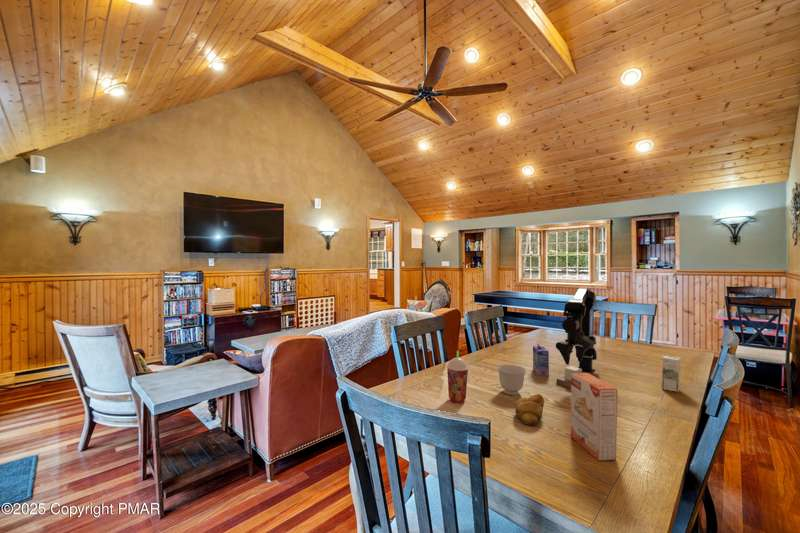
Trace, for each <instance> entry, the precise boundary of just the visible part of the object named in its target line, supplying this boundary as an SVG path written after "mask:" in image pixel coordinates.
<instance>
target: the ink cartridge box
mask: <svg viewBox="0 0 800 533" xmlns="http://www.w3.org/2000/svg"><path fill="white" fill-rule="evenodd" d="M549 357H550V354H549V350H548V349H546V348H545V347H544V346H542V345H541V346H540V345H539V343H536V345H532V369H533V371H534V373H536V375H537V376H547V377H548V376H550V366H549V365H550V359H549Z"/></svg>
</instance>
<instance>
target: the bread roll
mask: <svg viewBox="0 0 800 533" xmlns="http://www.w3.org/2000/svg"><path fill="white" fill-rule="evenodd" d="M544 405H545V399H544V397H543V396H542V395H541V394H538V393H537V394H535V393H534V394H533V395H530V396H529V397H521V398H518V399H517V401H516V402H515V404H514V407H515V408H514V410H515V416H516V417H517V418H518V419H519V420H521V422H522V423H524V424H526V425H529V426H531V425H532V426H533V425H535V424H537V422H538V421H539V420H541V419H542V418H543V410H544V407H545V406H544Z"/></svg>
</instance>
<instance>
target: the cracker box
mask: <svg viewBox="0 0 800 533" xmlns="http://www.w3.org/2000/svg"><path fill="white" fill-rule="evenodd" d="M570 391H571V392H570V395H571V398H570V402H571V403H570V437H571V438H572V439H573V440H574V441H576V442H577V443H578V445H580V446H581V447H582V448H583V449H584V450H586V451H587V453H588V454H590V455H591V456H592V457H593V458H594V459H595V460H596V461H598V462H599V461H600V462H602V461H616V460H617V440H618V439H617V436H618V434H617V430H618V429H617V427H618V426H617V425H618V422H617V421H618V388H616V387H614V386H613V385H611V384H609V383H607V382H605V381H603V380H601V379H599V378H598V377H597V376H594V375H593V374H590V372H582V373H572V380H571V389H570Z"/></svg>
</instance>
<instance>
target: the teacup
mask: <svg viewBox="0 0 800 533" xmlns="http://www.w3.org/2000/svg"><path fill="white" fill-rule="evenodd" d="M496 369H497V371H498V376H499V383H500V387H501V388H502V389H503V390H504V391H503V392H504V393H505V394H507V395H511V396H513V395H515V396H516V395H518V394H519V391H521V390H522V389H523V386H524V381H525V380H524V379H525V375H526V373H527V369H526V368H524V367H522V366H520V365H516V364H504V365H503V364H502V365H499V366H497V368H496Z"/></svg>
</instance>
